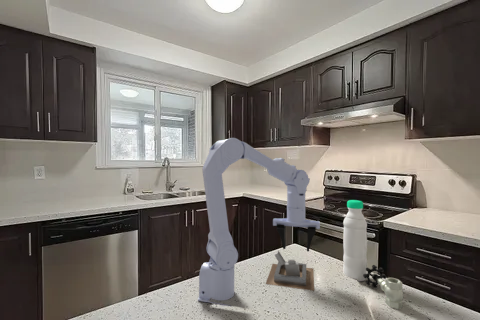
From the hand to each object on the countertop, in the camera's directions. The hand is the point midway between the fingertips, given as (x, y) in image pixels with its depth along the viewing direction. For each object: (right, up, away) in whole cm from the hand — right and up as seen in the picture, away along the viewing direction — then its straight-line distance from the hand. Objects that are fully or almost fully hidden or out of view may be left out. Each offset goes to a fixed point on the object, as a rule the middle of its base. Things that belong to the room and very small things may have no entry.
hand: (296, 249), depth 79 cm
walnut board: (-1, -10, 0) cm, 10 cm away
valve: (+23, -10, -10) cm, 27 cm away
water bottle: (+20, -10, +2) cm, 22 cm away
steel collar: (-1, -9, 0) cm, 9 cm away
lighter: (-2, -9, 0) cm, 9 cm away
